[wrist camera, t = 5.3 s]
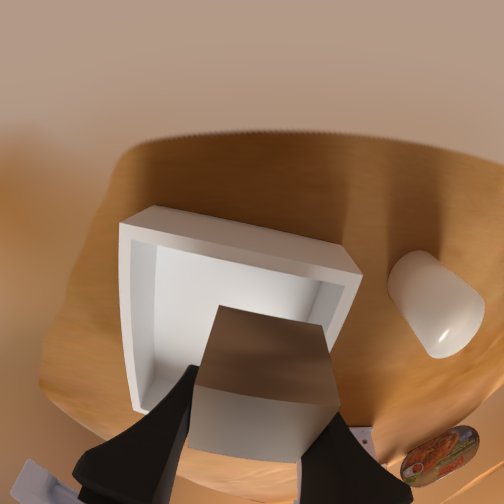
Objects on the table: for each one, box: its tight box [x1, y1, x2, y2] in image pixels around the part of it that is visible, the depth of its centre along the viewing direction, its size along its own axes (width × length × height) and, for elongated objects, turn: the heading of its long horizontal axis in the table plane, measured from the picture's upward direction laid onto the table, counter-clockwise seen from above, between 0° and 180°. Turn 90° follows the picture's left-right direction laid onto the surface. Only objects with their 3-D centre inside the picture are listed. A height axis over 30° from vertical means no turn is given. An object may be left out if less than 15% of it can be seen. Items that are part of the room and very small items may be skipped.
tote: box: [119, 205, 363, 415], centre depth 19 cm, size 14×18×5 cm
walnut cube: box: [188, 305, 342, 463], centre depth 11 cm, size 5×5×5 cm
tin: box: [400, 425, 480, 488], centre depth 26 cm, size 15×3×8 cm, turn 119°
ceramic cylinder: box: [387, 250, 485, 358], centre depth 16 cm, size 5×5×7 cm
